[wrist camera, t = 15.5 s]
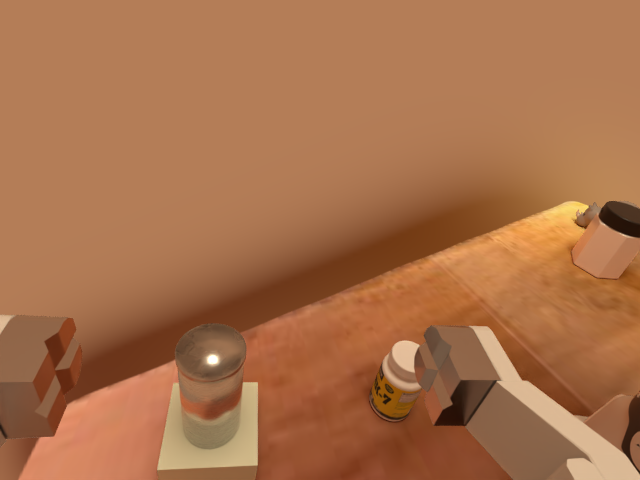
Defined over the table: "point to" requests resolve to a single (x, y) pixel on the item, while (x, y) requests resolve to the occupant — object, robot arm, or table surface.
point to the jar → (609, 241)
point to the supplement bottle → (396, 383)
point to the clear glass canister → (210, 383)
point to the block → (211, 464)
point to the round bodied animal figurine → (592, 214)
